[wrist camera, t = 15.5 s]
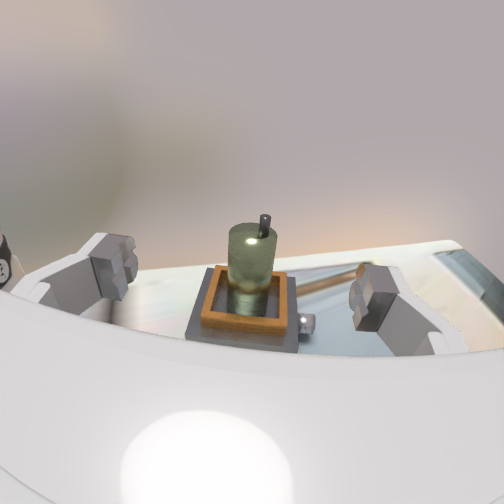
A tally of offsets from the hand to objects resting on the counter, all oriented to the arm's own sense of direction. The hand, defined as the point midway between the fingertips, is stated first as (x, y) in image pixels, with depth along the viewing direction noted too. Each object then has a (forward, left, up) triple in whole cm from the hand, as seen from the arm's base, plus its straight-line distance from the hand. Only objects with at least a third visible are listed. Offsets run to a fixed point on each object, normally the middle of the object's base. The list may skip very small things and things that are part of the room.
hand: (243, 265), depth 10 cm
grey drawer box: (+1, +21, -28) cm, 35 cm away
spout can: (0, +21, -22) cm, 30 cm away
